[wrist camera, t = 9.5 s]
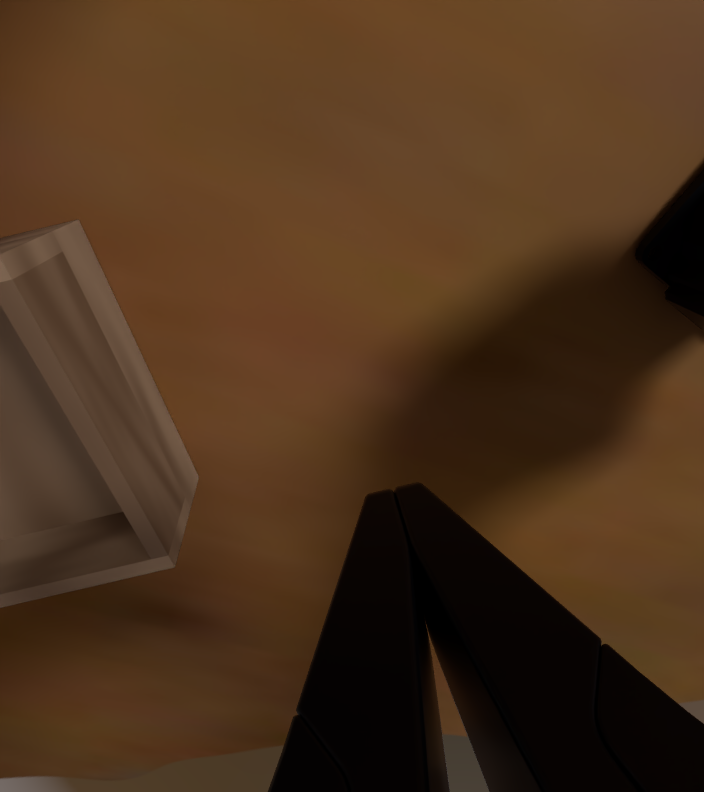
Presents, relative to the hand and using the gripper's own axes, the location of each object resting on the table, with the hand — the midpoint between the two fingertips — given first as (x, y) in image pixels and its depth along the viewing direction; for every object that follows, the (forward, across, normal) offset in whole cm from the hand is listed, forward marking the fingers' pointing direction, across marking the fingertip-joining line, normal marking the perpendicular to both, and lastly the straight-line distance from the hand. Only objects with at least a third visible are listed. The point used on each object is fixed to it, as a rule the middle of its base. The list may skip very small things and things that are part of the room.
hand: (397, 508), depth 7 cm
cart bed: (+12, +13, +1) cm, 18 cm away
